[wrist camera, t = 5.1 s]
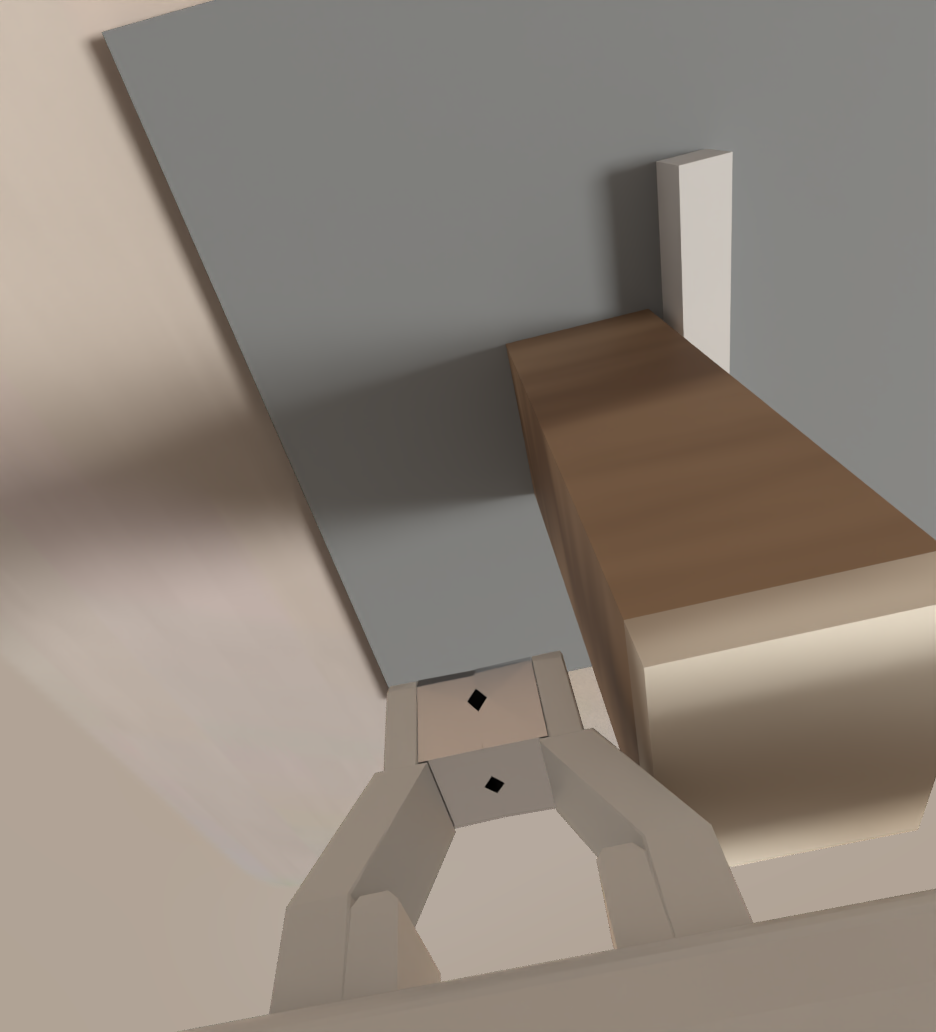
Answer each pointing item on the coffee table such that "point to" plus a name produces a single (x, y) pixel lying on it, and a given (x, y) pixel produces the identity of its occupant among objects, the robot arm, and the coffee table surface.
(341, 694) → the coffee table surface
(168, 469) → the coffee table surface
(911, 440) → the slate mat
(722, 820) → the walnut block
